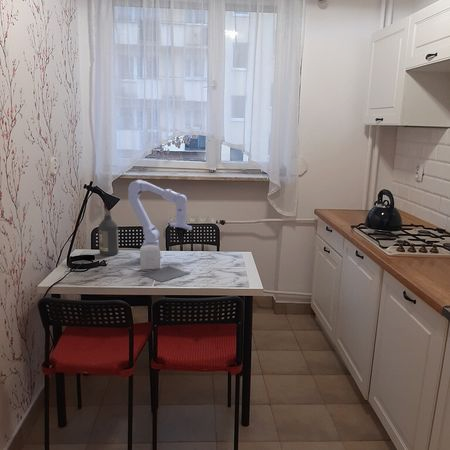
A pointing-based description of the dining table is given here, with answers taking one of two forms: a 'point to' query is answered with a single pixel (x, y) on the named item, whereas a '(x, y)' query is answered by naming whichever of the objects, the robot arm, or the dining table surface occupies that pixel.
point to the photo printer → (150, 257)
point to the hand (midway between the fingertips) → (180, 240)
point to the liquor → (108, 235)
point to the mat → (165, 274)
